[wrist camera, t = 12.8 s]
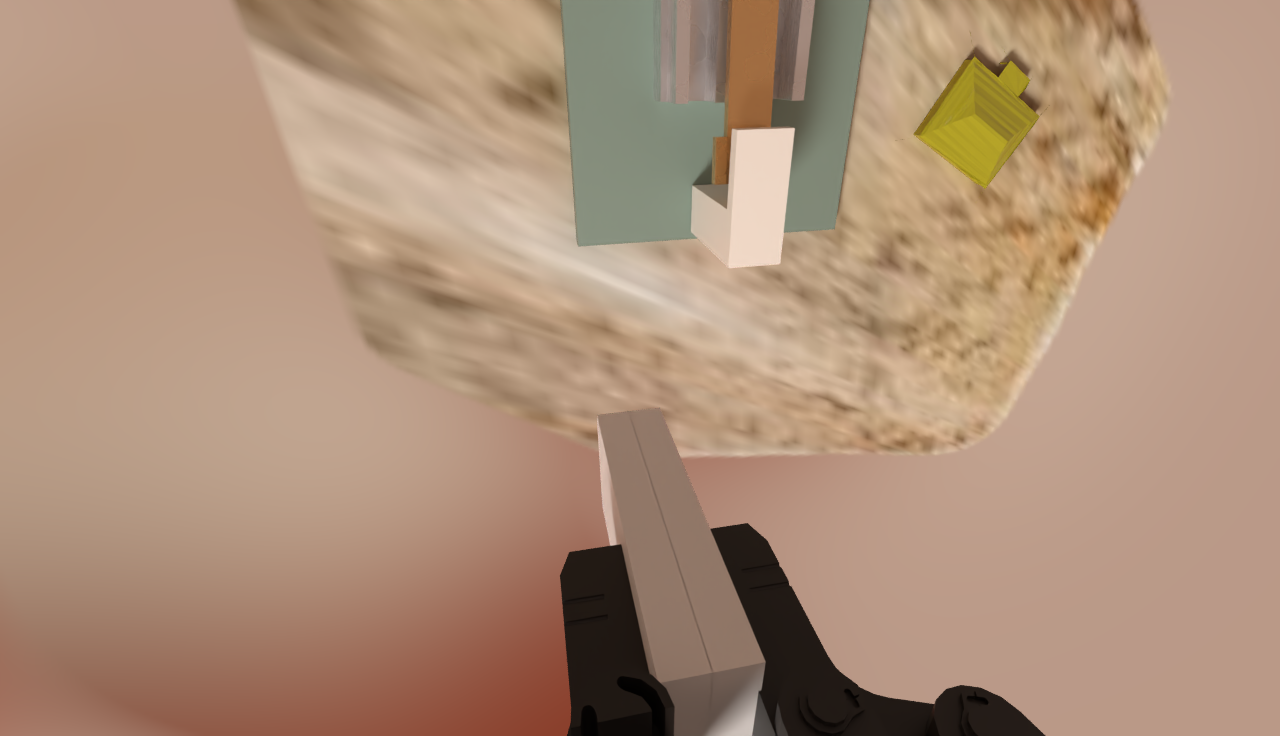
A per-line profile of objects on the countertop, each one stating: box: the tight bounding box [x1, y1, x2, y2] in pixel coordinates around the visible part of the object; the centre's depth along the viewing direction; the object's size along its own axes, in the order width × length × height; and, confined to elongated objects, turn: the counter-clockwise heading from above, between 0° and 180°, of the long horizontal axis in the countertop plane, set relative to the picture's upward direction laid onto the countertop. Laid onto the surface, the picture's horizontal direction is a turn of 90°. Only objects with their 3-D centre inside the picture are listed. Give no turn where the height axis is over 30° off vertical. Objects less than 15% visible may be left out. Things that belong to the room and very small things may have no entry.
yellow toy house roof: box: [896, 33, 1048, 188], centre depth 38 cm, size 10×9×3 cm
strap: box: [712, 0, 779, 185], centre depth 28 cm, size 16×4×1 cm, turn 1°
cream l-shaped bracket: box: [691, 126, 795, 268], centre depth 33 cm, size 7×3×8 cm, turn 1°
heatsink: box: [653, 0, 815, 104], centre depth 30 cm, size 8×8×4 cm
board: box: [560, 0, 870, 246], centre depth 30 cm, size 25×18×7 cm
